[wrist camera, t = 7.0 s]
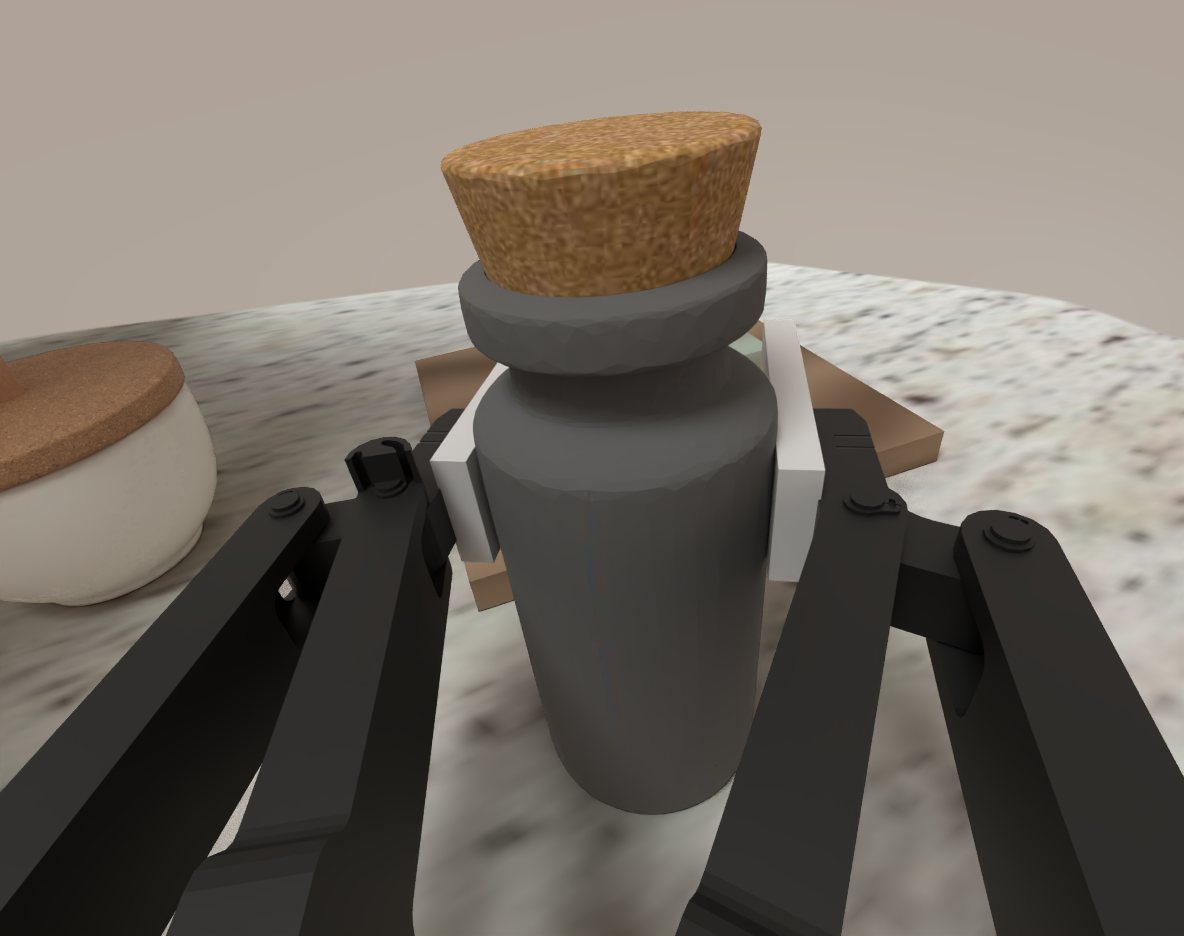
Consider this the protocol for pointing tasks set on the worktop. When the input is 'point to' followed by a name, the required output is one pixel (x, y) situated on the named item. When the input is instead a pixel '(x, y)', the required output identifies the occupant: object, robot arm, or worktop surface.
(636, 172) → the bottle
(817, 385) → the socket board
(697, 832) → the worktop surface
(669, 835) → the worktop surface
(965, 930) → the worktop surface
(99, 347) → the lidded jar
